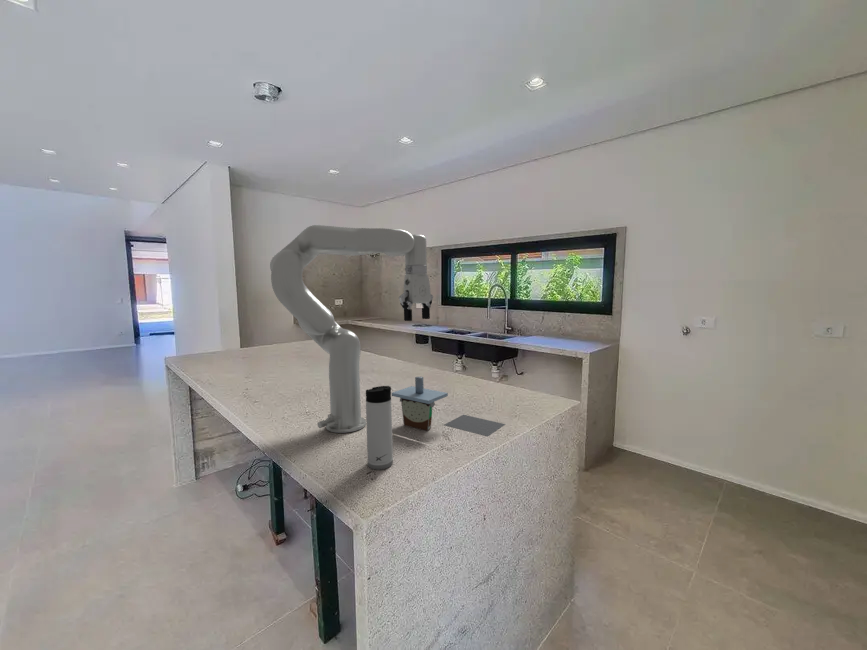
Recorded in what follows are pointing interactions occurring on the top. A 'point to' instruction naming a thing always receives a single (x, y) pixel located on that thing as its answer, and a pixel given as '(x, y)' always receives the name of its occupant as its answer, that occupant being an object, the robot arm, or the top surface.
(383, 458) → the travel mug
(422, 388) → the lid
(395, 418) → the top surface
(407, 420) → the food container
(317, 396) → the top surface
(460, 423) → the mat
